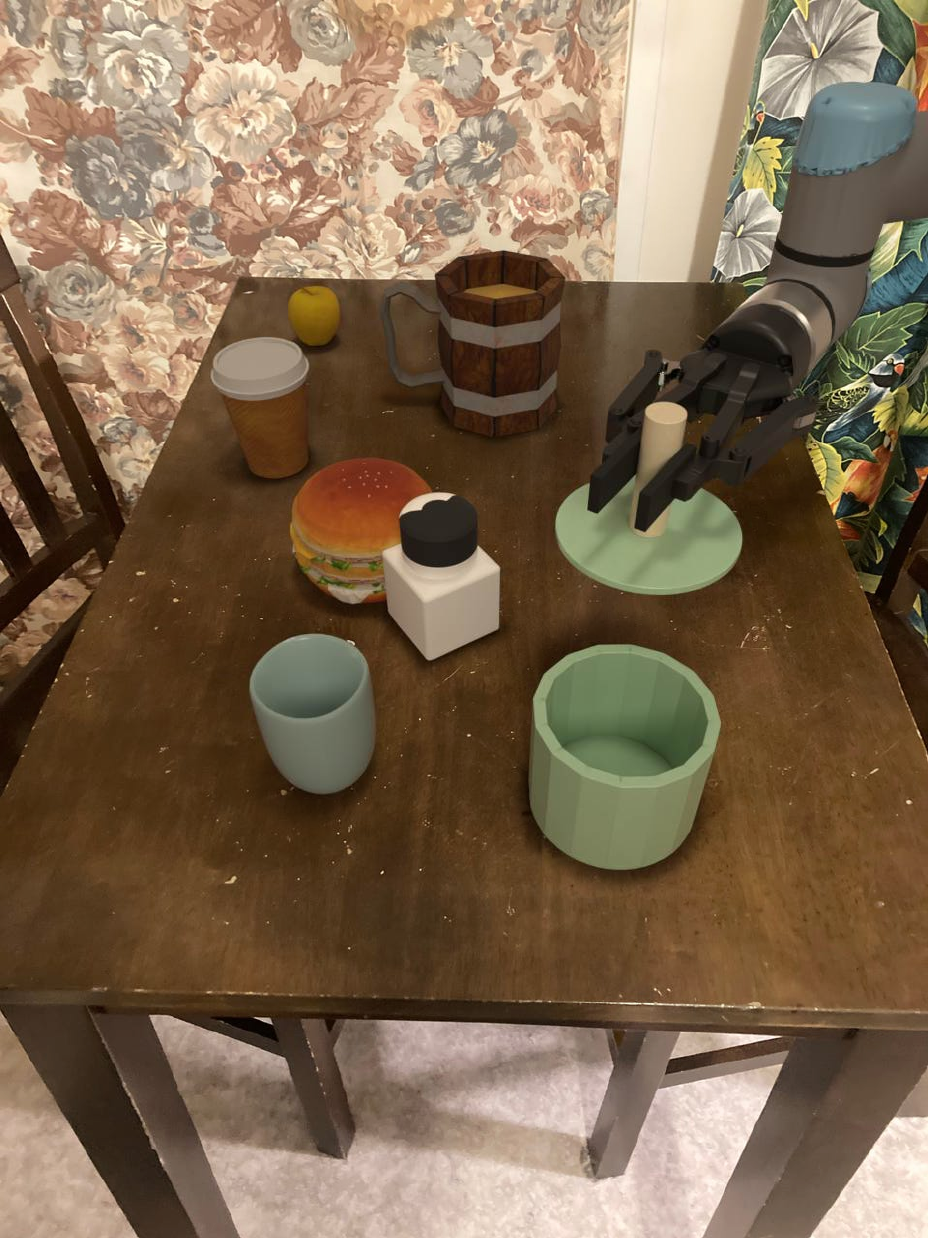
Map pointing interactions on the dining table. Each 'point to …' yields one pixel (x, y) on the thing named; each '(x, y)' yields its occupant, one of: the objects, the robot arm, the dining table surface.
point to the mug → (490, 340)
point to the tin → (620, 754)
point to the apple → (314, 314)
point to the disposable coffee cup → (266, 402)
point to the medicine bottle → (441, 576)
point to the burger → (352, 525)
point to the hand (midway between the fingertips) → (618, 503)
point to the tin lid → (672, 546)
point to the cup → (315, 711)
